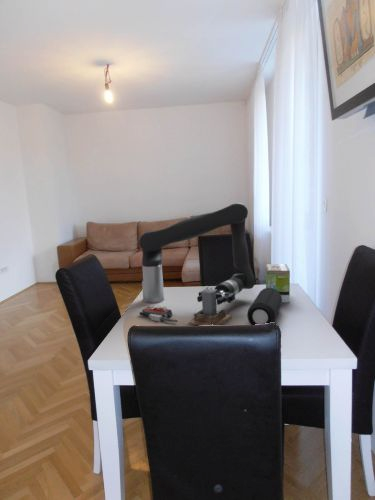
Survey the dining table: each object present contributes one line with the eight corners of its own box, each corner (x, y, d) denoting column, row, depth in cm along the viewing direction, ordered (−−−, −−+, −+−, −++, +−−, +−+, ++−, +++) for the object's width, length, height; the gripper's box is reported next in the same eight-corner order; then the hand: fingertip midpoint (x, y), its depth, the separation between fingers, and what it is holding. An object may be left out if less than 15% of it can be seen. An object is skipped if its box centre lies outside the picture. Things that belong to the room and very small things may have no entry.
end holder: (188, 324, 137) (188, 315, 136) (205, 313, 147) (204, 305, 147) (215, 329, 130) (215, 320, 129) (231, 317, 141) (231, 309, 140)
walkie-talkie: (136, 318, 147) (175, 325, 137) (135, 308, 146) (175, 314, 136) (149, 311, 154) (187, 318, 144) (148, 302, 154) (187, 308, 143)
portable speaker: (259, 308, 151) (258, 285, 150) (282, 309, 148) (282, 286, 146) (246, 330, 128) (245, 303, 126) (274, 333, 124) (273, 305, 123)
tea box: (290, 302, 156) (290, 270, 153) (267, 302, 158) (266, 270, 155) (287, 293, 170) (286, 263, 168) (265, 293, 172) (265, 263, 170)
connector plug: (203, 319, 138) (201, 287, 136) (208, 316, 141) (206, 285, 139) (211, 320, 136) (210, 288, 134) (217, 317, 139) (215, 286, 137)
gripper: (211, 280, 153) (191, 289, 140) (242, 283, 145) (224, 293, 132) (212, 296, 154) (192, 307, 141) (242, 300, 146) (224, 312, 133)
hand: (207, 300), depth 136 cm, fingers open, 8 cm apart
